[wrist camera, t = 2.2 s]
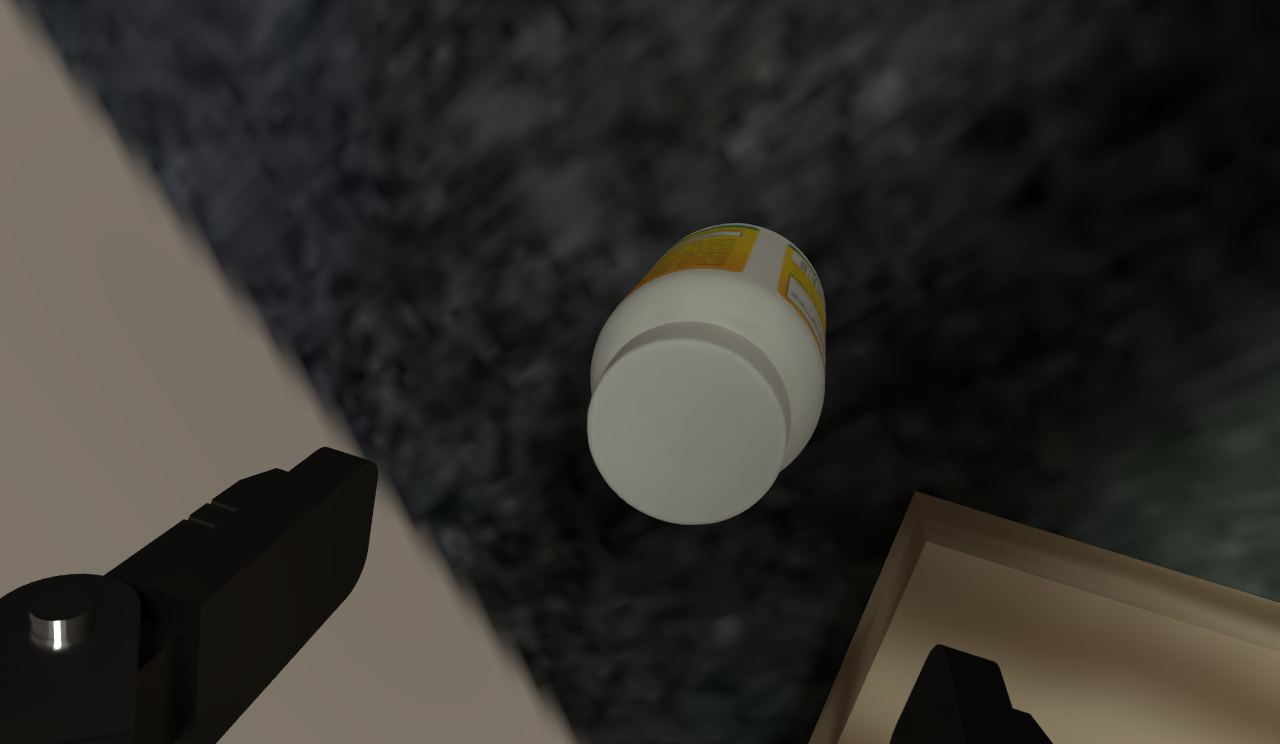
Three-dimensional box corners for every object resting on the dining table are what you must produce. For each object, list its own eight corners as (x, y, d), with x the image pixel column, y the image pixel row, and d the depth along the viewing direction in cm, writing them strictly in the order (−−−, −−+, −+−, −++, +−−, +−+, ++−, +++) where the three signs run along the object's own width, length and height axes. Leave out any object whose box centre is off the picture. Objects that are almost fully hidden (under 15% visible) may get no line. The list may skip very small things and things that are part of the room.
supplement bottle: (859, 272, 24) (882, 391, 15) (769, 421, 26) (744, 601, 17) (693, 186, 24) (621, 254, 15) (617, 340, 26) (514, 479, 17)
